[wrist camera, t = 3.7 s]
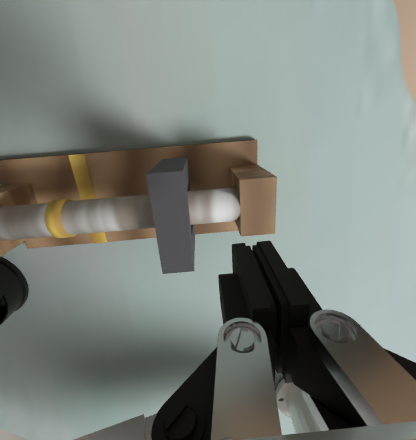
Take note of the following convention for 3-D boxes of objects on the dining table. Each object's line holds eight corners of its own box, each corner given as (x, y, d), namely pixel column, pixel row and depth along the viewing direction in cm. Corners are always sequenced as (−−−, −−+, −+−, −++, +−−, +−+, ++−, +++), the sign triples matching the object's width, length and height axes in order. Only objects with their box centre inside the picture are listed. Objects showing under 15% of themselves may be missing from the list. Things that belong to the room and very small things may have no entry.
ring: (187, 157, 23) (182, 170, 16) (194, 230, 26) (194, 271, 19) (162, 159, 23) (145, 173, 16) (172, 232, 26) (162, 273, 19)
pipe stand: (255, 139, 25) (278, 144, 18) (255, 226, 29) (274, 259, 22) (-2, 160, 25) (-83, 173, 18) (31, 245, 28) (-25, 285, 21)
